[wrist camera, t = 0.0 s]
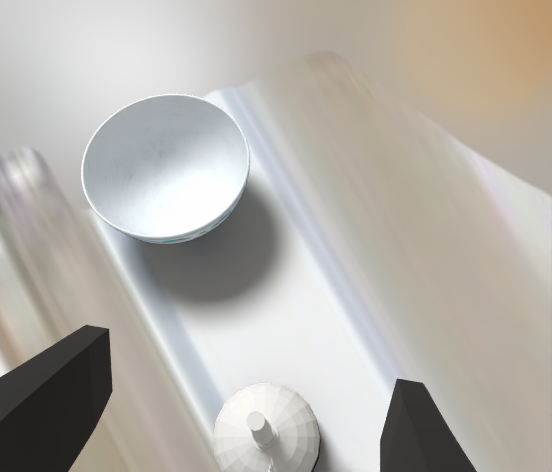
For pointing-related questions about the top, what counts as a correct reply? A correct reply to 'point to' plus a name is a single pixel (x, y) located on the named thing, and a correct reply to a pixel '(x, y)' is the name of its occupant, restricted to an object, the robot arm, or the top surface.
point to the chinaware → (166, 168)
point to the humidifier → (266, 431)
